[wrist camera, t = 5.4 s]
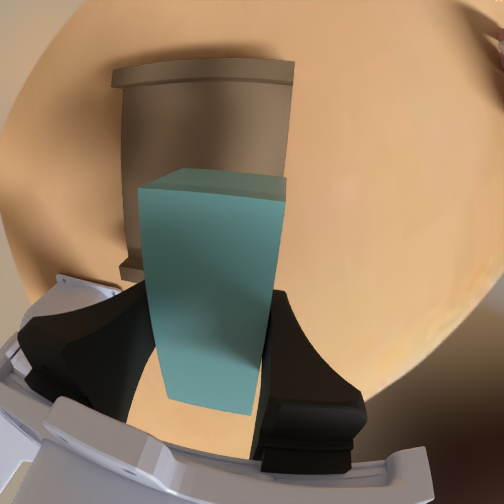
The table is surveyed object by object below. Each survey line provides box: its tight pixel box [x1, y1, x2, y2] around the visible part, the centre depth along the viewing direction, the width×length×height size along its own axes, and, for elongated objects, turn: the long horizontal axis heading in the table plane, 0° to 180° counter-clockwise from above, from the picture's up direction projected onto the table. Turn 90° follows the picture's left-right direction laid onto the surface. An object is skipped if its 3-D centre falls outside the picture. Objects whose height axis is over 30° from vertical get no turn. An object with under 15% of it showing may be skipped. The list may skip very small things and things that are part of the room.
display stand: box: [111, 58, 295, 283], centre depth 17 cm, size 11×15×4 cm
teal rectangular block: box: [138, 168, 286, 416], centre depth 12 cm, size 4×11×4 cm, turn 175°
